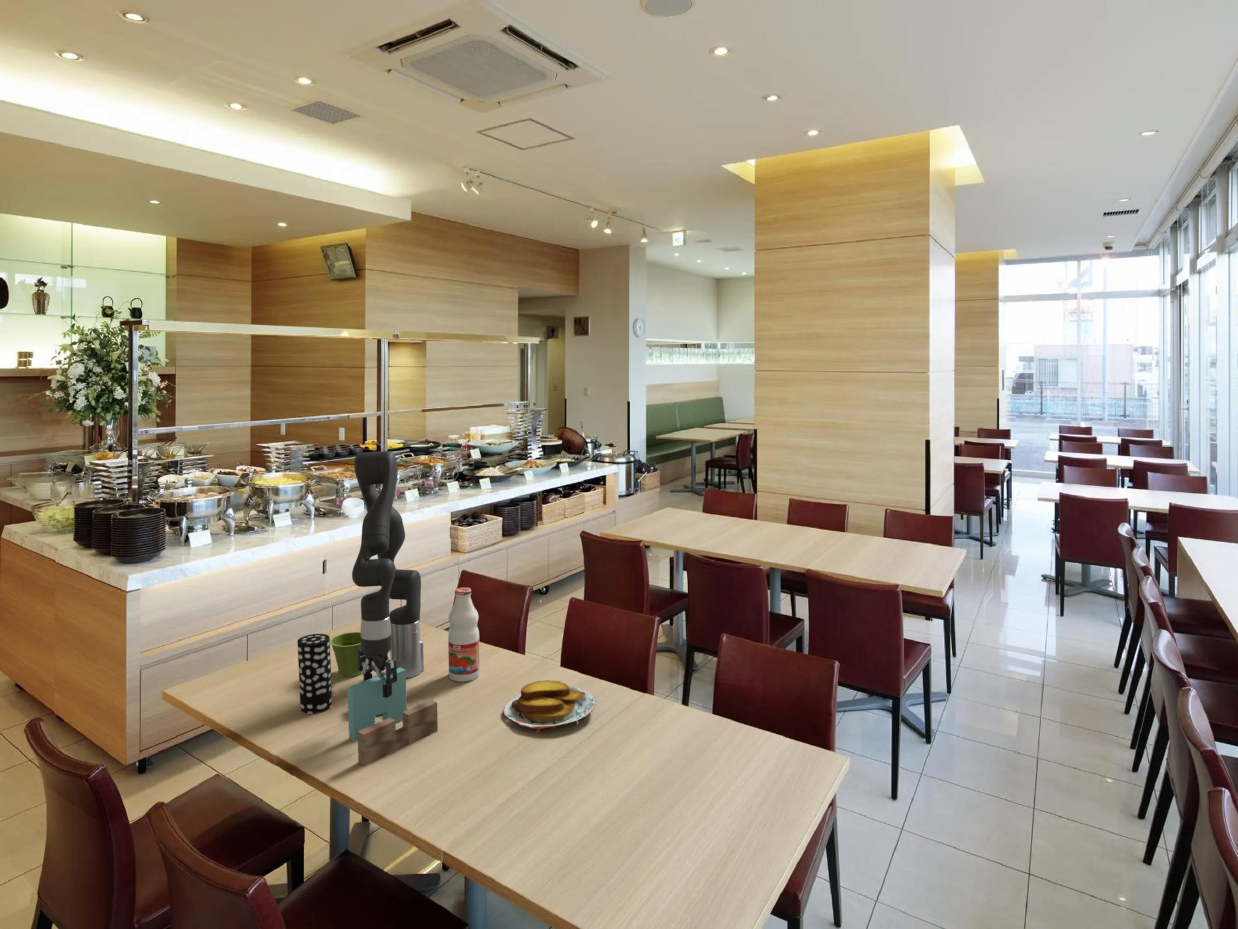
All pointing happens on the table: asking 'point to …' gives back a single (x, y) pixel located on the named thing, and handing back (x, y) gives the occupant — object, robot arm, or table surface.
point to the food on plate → (549, 704)
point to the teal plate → (375, 702)
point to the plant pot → (347, 653)
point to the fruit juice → (463, 638)
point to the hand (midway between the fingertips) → (377, 692)
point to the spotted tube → (314, 673)
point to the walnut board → (396, 732)
